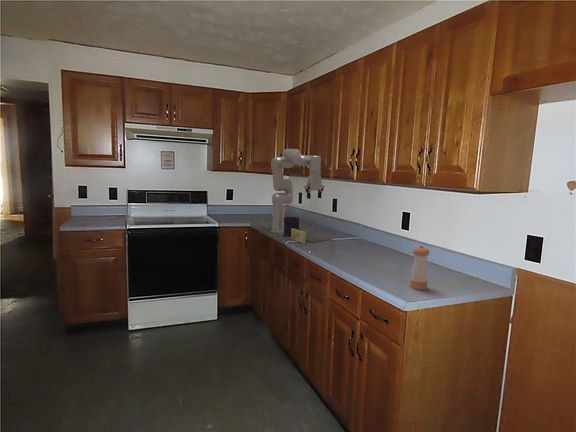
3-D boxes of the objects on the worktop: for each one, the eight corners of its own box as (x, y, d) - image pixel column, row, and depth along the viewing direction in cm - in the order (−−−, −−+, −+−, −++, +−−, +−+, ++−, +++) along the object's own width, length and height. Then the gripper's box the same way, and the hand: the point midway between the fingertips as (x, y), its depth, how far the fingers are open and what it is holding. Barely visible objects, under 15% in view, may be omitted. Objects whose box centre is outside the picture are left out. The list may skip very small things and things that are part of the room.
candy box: (305, 243, 255) (306, 231, 254) (303, 243, 254) (303, 232, 252) (293, 239, 268) (293, 228, 267) (290, 239, 267) (291, 228, 266)
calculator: (298, 236, 279) (299, 217, 277) (297, 237, 275) (298, 217, 273) (285, 235, 282) (285, 216, 280) (283, 236, 278) (283, 217, 275)
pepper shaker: (420, 291, 160) (423, 248, 158) (406, 286, 166) (409, 245, 164) (430, 288, 165) (433, 246, 162) (416, 283, 170) (419, 243, 168)
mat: (300, 239, 267) (300, 238, 267) (321, 237, 278) (321, 236, 278) (311, 242, 258) (311, 241, 257) (331, 239, 268) (331, 238, 268)
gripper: (321, 173, 261) (320, 197, 263) (301, 173, 251) (301, 198, 254) (327, 173, 255) (327, 198, 257) (308, 173, 245) (307, 199, 248)
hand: (314, 198), depth 256 cm, fingers open, 9 cm apart
